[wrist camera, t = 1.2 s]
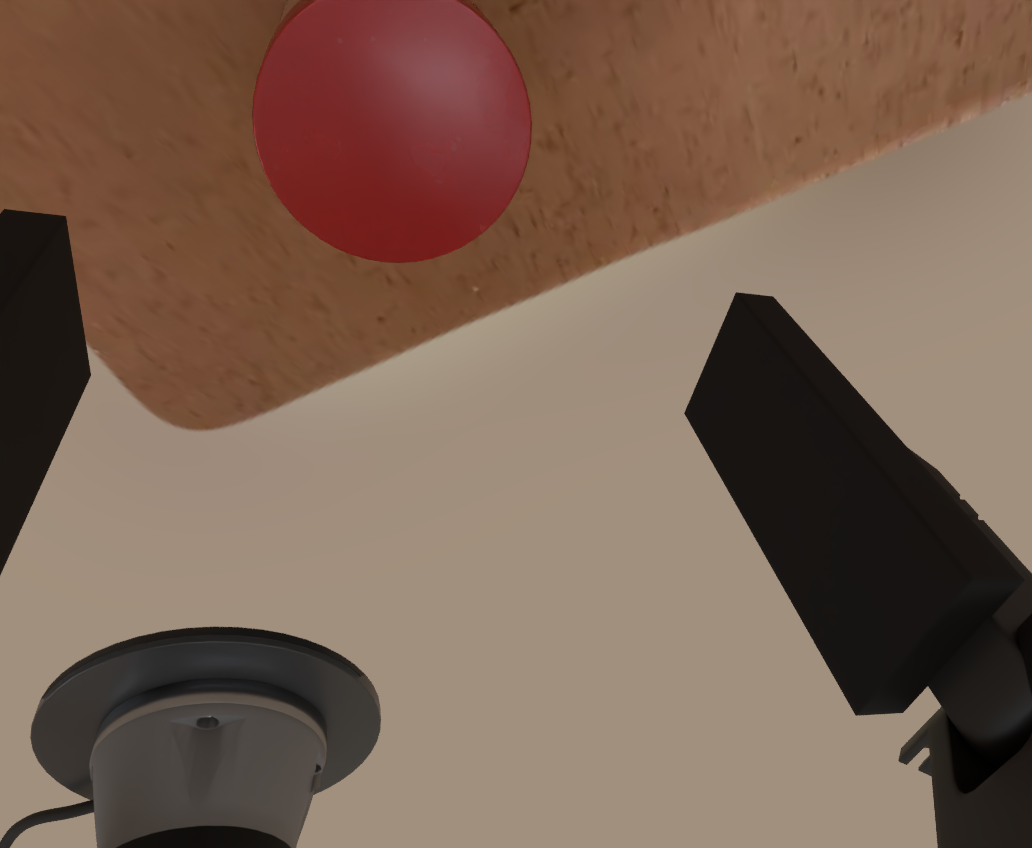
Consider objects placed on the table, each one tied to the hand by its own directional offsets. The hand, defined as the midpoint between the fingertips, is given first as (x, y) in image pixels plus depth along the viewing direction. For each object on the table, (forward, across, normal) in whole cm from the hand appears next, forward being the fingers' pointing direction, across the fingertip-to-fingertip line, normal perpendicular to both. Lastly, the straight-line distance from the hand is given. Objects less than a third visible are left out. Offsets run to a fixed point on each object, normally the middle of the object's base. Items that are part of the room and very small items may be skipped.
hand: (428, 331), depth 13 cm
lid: (+10, 0, 0) cm, 10 cm away
